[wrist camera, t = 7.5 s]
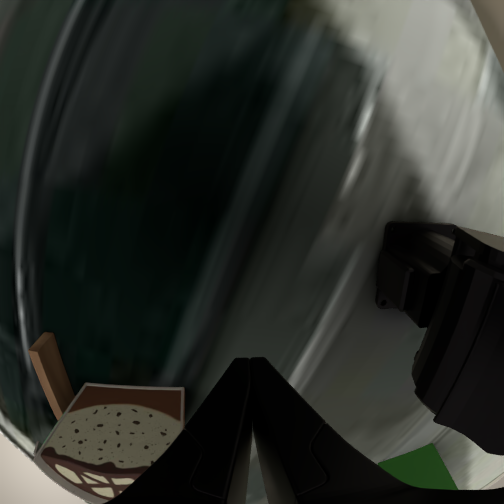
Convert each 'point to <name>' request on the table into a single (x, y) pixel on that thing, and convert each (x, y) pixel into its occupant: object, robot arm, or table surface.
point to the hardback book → (420, 469)
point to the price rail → (52, 373)
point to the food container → (110, 438)
